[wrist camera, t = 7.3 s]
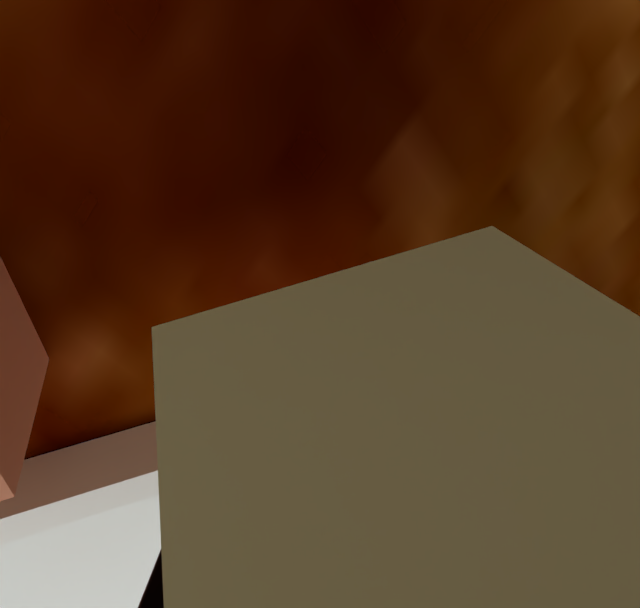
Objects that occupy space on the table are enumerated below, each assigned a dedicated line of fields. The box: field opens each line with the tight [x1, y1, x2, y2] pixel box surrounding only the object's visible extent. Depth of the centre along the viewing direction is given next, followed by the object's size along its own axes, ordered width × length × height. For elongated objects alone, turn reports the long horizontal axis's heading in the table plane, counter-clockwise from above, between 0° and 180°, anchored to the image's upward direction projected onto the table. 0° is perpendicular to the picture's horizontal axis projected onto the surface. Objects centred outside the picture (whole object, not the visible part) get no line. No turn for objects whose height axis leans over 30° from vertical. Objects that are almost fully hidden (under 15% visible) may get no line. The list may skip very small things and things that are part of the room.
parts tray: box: [0, 421, 161, 608], centre depth 21 cm, size 12×12×2 cm
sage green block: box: [152, 226, 640, 608], centre depth 7 cm, size 5×5×6 cm
